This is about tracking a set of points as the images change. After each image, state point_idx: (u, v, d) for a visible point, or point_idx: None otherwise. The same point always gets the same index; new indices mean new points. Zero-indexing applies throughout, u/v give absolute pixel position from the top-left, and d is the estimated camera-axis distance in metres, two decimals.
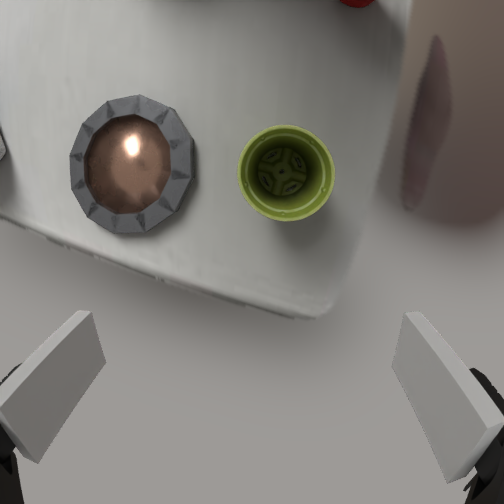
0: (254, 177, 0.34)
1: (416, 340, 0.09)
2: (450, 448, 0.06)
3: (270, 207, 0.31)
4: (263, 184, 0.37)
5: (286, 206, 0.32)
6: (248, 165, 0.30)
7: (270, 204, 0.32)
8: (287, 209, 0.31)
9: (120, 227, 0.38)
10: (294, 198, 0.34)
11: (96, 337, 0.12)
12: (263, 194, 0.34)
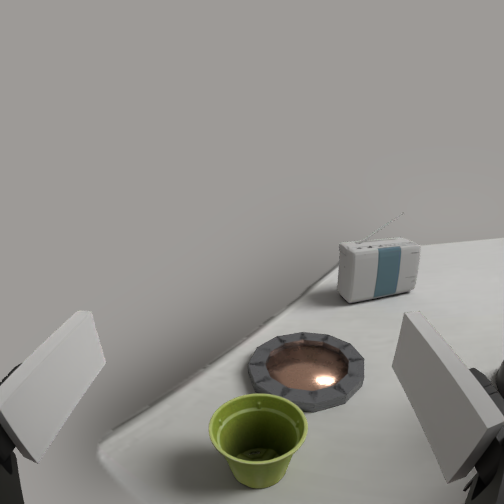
0: (262, 432, 0.30)
1: (416, 340, 0.09)
2: (450, 448, 0.06)
3: (230, 418, 0.29)
4: (251, 450, 0.31)
5: (224, 437, 0.27)
6: (275, 414, 0.29)
7: (232, 424, 0.29)
8: (221, 431, 0.27)
9: (259, 351, 0.49)
10: None
11: (96, 337, 0.12)
12: (243, 433, 0.30)
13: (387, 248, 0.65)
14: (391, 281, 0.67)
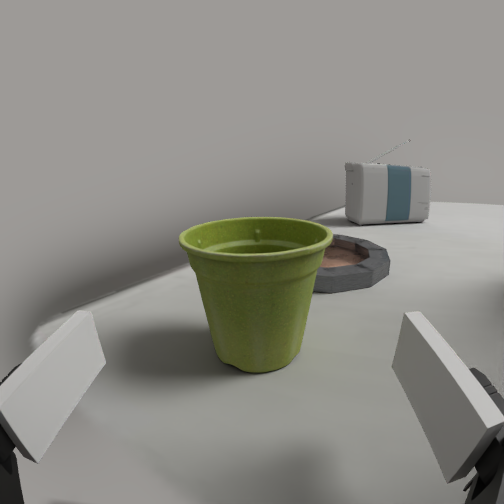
0: None
1: (417, 340, 0.09)
2: (450, 448, 0.06)
3: (215, 249, 0.22)
4: None
5: None
6: (281, 248, 0.23)
7: None
8: None
9: None
10: None
11: (96, 337, 0.12)
12: None
13: (396, 166, 0.58)
14: (403, 204, 0.60)
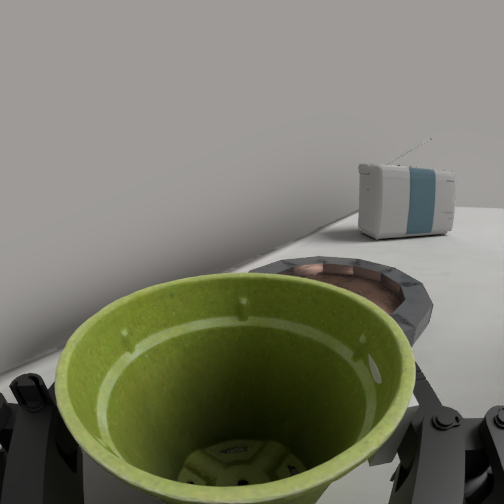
0: (252, 397, 0.12)
1: None
2: None
3: (160, 340, 0.11)
4: (228, 443, 0.13)
5: (141, 392, 0.10)
6: (288, 336, 0.11)
7: (168, 360, 0.11)
8: (129, 369, 0.09)
9: None
10: (154, 456, 0.09)
11: None
12: (202, 394, 0.12)
13: (419, 169, 0.47)
14: (426, 214, 0.49)
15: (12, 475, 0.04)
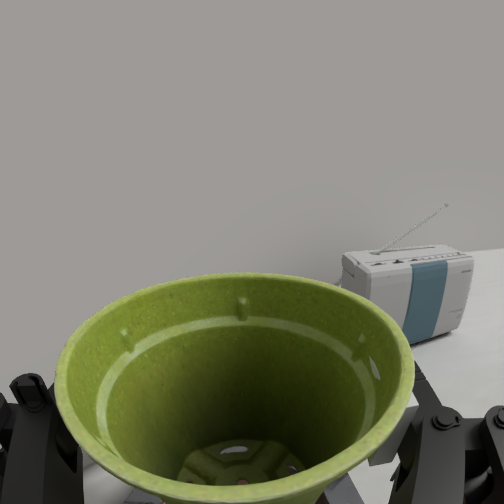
0: (252, 396, 0.12)
1: None
2: None
3: (160, 339, 0.11)
4: (227, 443, 0.13)
5: (140, 392, 0.10)
6: (287, 335, 0.11)
7: (168, 360, 0.11)
8: (129, 368, 0.09)
9: None
10: (154, 455, 0.09)
11: None
12: (202, 393, 0.12)
13: (427, 264, 0.34)
14: (428, 320, 0.36)
15: (12, 475, 0.04)
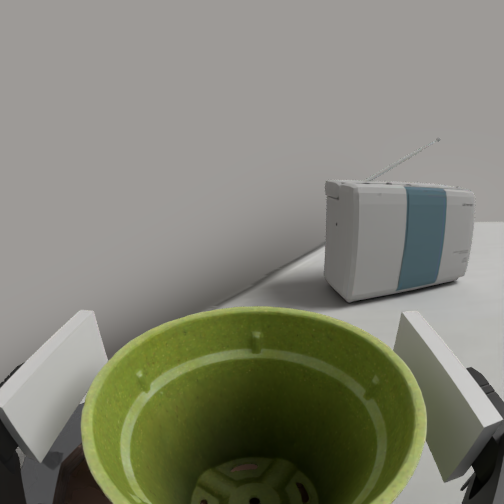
0: (263, 421, 0.12)
1: (414, 339, 0.10)
2: (447, 447, 0.06)
3: (174, 375, 0.10)
4: (238, 461, 0.13)
5: (157, 427, 0.09)
6: (301, 368, 0.11)
7: (182, 393, 0.11)
8: (146, 408, 0.09)
9: (72, 420, 0.14)
10: (171, 482, 0.09)
11: (98, 336, 0.12)
12: (215, 420, 0.12)
13: (422, 188, 0.30)
14: (430, 258, 0.32)
15: None
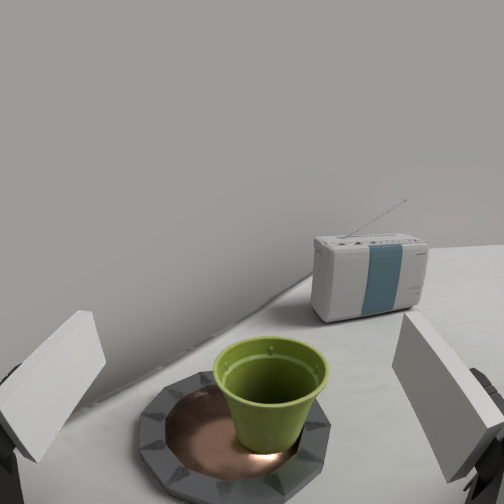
0: (272, 388, 0.28)
1: (416, 340, 0.09)
2: (450, 448, 0.06)
3: (237, 364, 0.26)
4: None
5: (230, 386, 0.25)
6: (289, 362, 0.27)
7: (239, 372, 0.27)
8: (227, 377, 0.25)
9: (165, 395, 0.29)
10: None
11: (96, 337, 0.12)
12: (251, 386, 0.28)
13: (383, 246, 0.45)
14: (387, 293, 0.47)
15: None
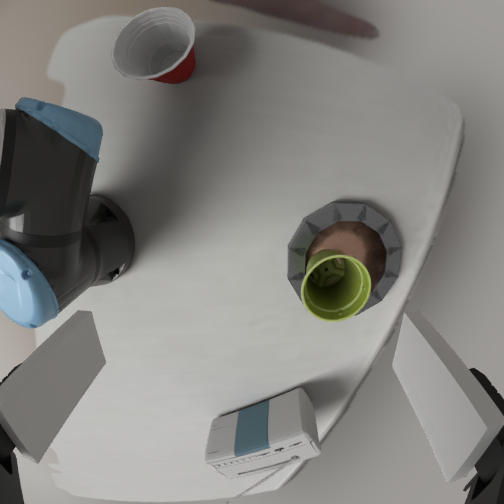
0: (331, 295, 0.44)
1: (416, 340, 0.09)
2: (450, 448, 0.06)
3: (357, 294, 0.40)
4: (334, 282, 0.47)
5: (357, 279, 0.41)
6: (325, 308, 0.41)
7: (354, 292, 0.41)
8: (360, 282, 0.40)
9: (394, 269, 0.45)
10: (349, 266, 0.43)
11: (96, 337, 0.12)
12: (345, 290, 0.43)
13: (254, 450, 0.43)
14: (246, 418, 0.51)
15: None
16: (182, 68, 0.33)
